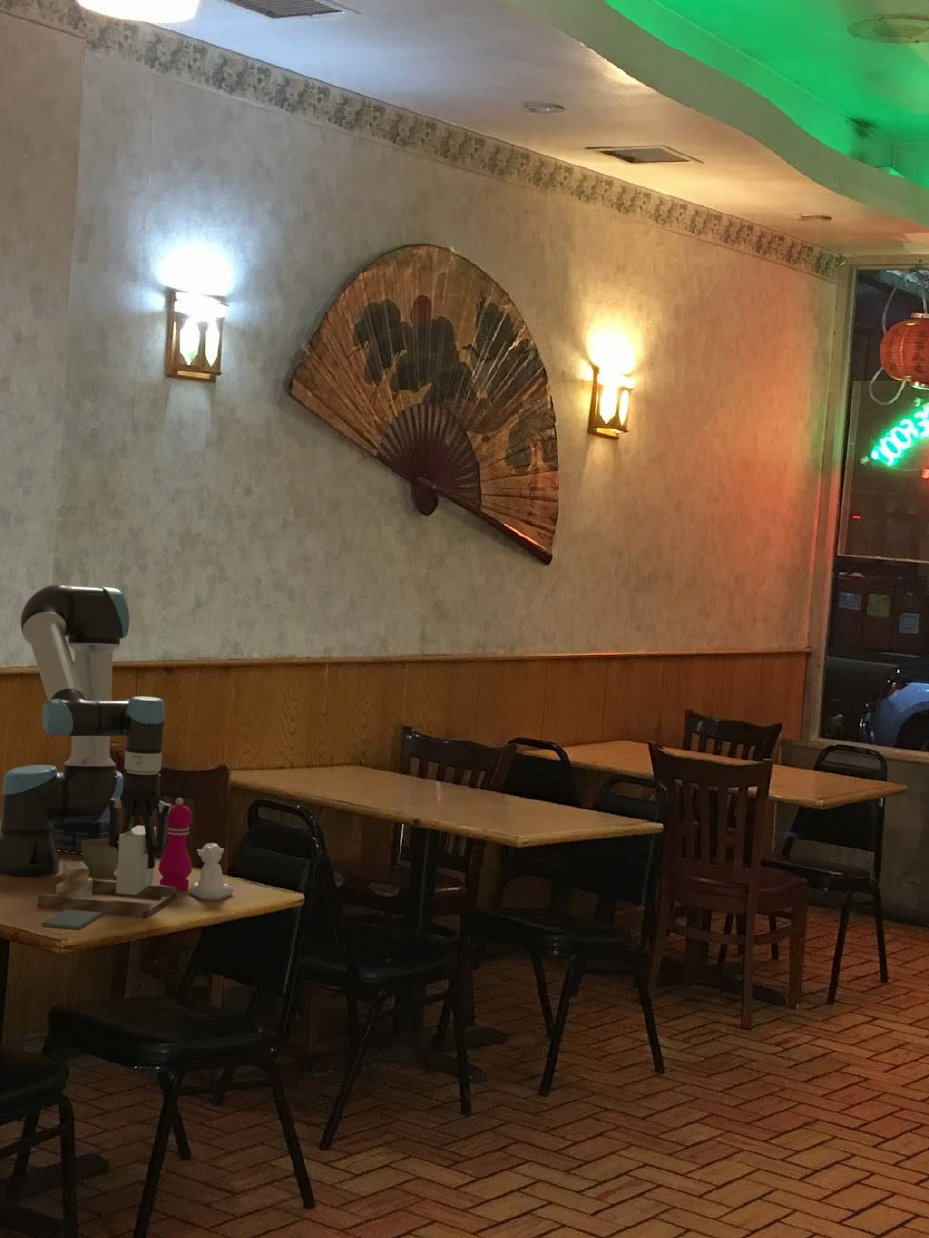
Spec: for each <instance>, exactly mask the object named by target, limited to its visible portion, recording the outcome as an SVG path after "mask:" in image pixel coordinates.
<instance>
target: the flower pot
mask: <svg viewBox="0 0 929 1238" xmlns="http://www.w3.org/2000/svg"><path fill="white" fill-rule="evenodd" d="M81 850H82V854H81V855H82V858H83V863H84V864H85V865H86V866H87V867H88V869H89V874H90V875H91V876H94V877H101V878H102V876H103V877H104V876H106V877H111V875H112V876H113V875H114V874H115V873H116V872H117V866H118V865H117V854H118V851H117V849H116V848H114V847H111V846H110V845H109V840H105V839H92V840H85V841H82V842H81ZM104 878H105V877H104Z"/></svg>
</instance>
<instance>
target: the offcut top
mask: <svg viewBox="0 0 929 1238" xmlns="http://www.w3.org/2000/svg"><path fill="white" fill-rule="evenodd" d="M89 874H90V873H89V869H88V867H87V866H86V865H85V862H84V861H62V875H61V879H62V881H65V882H66V884H67V885H68V886H88V878H89Z"/></svg>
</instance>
